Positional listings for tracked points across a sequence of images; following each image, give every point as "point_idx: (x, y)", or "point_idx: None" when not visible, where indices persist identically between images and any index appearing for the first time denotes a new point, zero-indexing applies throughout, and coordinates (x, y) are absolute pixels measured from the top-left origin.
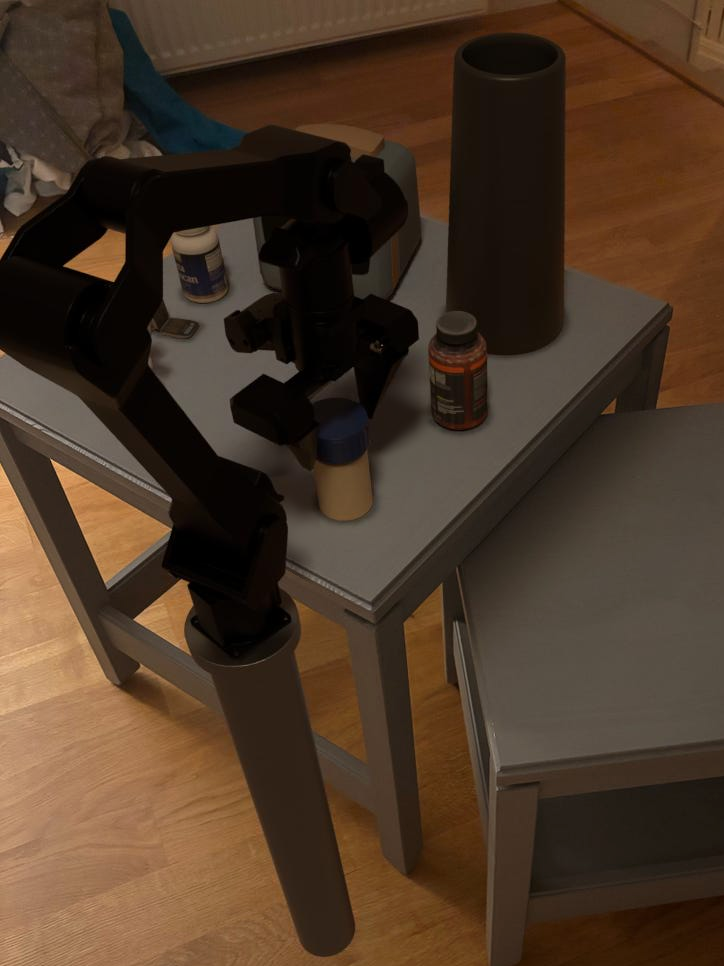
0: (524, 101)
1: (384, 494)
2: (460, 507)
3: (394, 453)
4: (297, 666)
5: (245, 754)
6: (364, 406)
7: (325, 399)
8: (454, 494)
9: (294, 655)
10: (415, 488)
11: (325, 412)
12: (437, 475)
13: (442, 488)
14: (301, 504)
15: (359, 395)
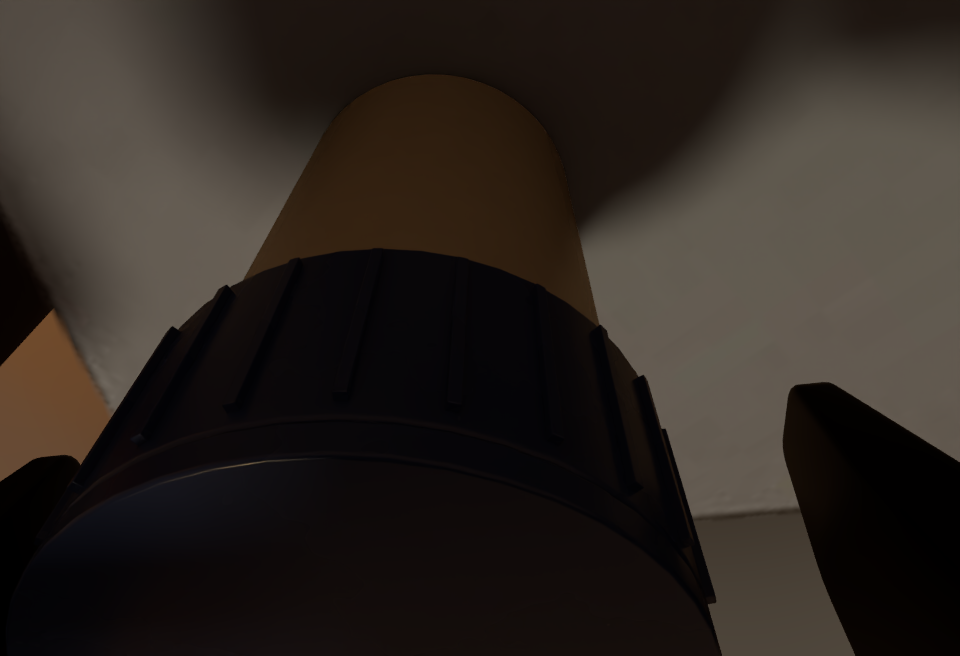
0: None
1: (597, 285)
2: (714, 506)
3: (876, 121)
4: (44, 315)
5: None
6: (829, 498)
7: (526, 500)
8: (763, 459)
9: (7, 357)
10: (708, 348)
11: (354, 630)
12: (830, 359)
13: (769, 415)
14: (262, 45)
15: (898, 525)
